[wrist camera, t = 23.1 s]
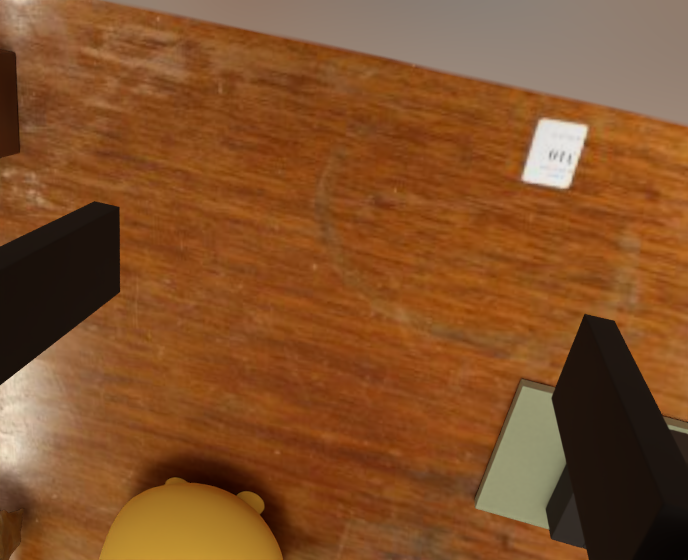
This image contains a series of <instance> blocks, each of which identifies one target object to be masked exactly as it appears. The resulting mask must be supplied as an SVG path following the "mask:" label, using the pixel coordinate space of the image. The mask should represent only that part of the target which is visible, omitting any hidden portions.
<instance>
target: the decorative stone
mask: <svg viewBox="0 0 688 560" xmlns="http://www.w3.org/2000/svg"><path fill="white" fill-rule="evenodd" d="M23 512H24V509H21V510H17V511H14V512H10V513H8V512H7V511H6V510H2V511H0V560H9V558H10V556H11V554H12V553H13V552H14V550H15V549H16V548H17V547H18V546H19V544H20V542H21V536H20V531H21V525H22V515H23Z"/></svg>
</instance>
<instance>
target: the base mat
mask: <svg viewBox="0 0 688 560" xmlns="http://www.w3.org/2000/svg"><path fill="white" fill-rule="evenodd" d="M554 390H555V387H551V386H547V385H543V384H540V383H536V382H532V381H528V380H524V379H521V381H520V384H519V386H518V389H517V392H516V394H515V397H514V399H513V402H512V404H511V407H510V410H509V412H508V415H507V417H506V420H505V422H504V425H503V428H502V430H501V433H500V435H499V438H498V440H497V443H496V446H495V448H494V451H493V453H492V456H491V458H490V461H489V464H488V466H487V469H486V471H485V474H484V476H483V479H482V482H481V484H480V487H479V489H478V492H477V495H476V497H475V508H476V509H480V510H483V511H487V512H490V513H494V514H497V515H501V516H504V517H508V518H511V519H515V520H518V521H522V522H525V523H529V524H532V525H535V526H539V527H542V528H546V529H549V526H548V520H547V515H546V507H547V505H548V502H549V500H550V498H551V496H552V494H553V492H554V489H555V487H556V485H557V483H558V481H559V479H560V476H561V474H562V472H563V470H564V468H565V466H566V459H565V455H564V451H563V446H562V442H561V438H560V433H559V429H558V425H557V421H556V416H555V412H554V408H553V404H552V399H551V398H552V395H553V392H554ZM663 418H664V420H665V422H666V424H667V426H668V428H669V429H671V430H675V431H679V432H683V433H687V434H688V423H687V422H683V421H679V420H675V419H672V418H668V417H664V416H663Z"/></svg>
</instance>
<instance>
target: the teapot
mask: <svg viewBox="0 0 688 560" xmlns="http://www.w3.org/2000/svg"><path fill="white" fill-rule="evenodd" d="M263 510H264V502H263V500H262V499H261V498H260V497H259V496H258V495H257V494H255V493H253V492H249V491H244V492H240V493H239V494H237V496H235V495H234V494H232V493H230V492H227V491H225V490H223V489H220V488H217V487H214V486H210V485H206V484H199V483H188V482H187V481H185V480H183V479H181V478H176V477H174V478H170V479H168V480H167V481H166V483H165V485H162V486H158V487H153V488H151V489H148V490H145V491H144V492H142V493H140V494H138V495H137V496H135V497H133V498H132V499H131V500H130V501H128V502H127V503H126V504H125V506H124V507H123V508H122V509H121V511H120V512H119V514H118V515H117V517H116V518H115V520H114V522H113V524H112V526H111V528H110V530H109V532H108V534H107V537H106V540H105V543H104V545H103V548H102V551H101V555H100V560H283V557H282V553H281V550H280V548H279V545H278V543H277V541H276V539H275V537H274V535H273V533H272V532H271V530H270V528H269V527H268V525H267V524H266V522H265V521H264V520H263V518H262V517H261V516H260V514H261V513H262V511H263Z"/></svg>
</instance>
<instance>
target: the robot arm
mask: <svg viewBox="0 0 688 560" xmlns="http://www.w3.org/2000/svg"><path fill="white" fill-rule="evenodd" d="M119 292H120V218H119V207H117V206H113V205H108V204H104V203H100V202H95V201H94V202H92V203H90V204H88V205H86V206H84V207H82V208H80V209H78V210H76V211H73V212H71V213H69V214H67V215H65V216H63V217H61V218H59V219H57V220H55V221H53V222H51V223H48V224H46V225H44V226H42V227H40V228H38V229H36V230H34V231H32V232H30V233H28V234H25V235H23V236H21V237H19V238H17V239H15V240H13V241H11V242H9V243H7V244H5V245H3V246H0V385H1V384H2V383H4V382H5V381H6V380H8V379H9V378H10V377H11V376H13V375H14V374H15V373H17V372H18V371H19V370H20V369H22V368H23V367H24V366H26V365H27V364H28V363H29V362H31V361H32V360H33V359H34V358H36V357H37V356H38V355H40V354H41V353H42V352H43V351H45V350H46V349H47V348H49V347H50V346H51V345H52V344H54V343H55V342H56V341H58V340H59V339H60V338H61V337H63V336H64V335H65V334H67V333H68V332H69V331H70V330H72V329H73V328H74V327H76V326H77V325H78V324H79V323H81V322H82V321H83V320H85V319H86V318H87V317H88V316H90V315H91V314H92V313H94V312H95V311H96V310H97V309H99V308H100V307H101V306H103V305H104V304H105V303H106V302H108V301H109V300H110V299H112V298H113V297H114V296H115V295H117V294H118V293H119ZM551 399H552V404H553V408H554V412H555V416H556V421H557V425H558V429H559V433H560V438H561V442H562V446H563V451H564V455H565V459H566V463H567V468H568V472H569V476H570V481H571V485H572V489H573V493H574V498H575V502H576V506H577V510H578V515H579V519H580V523H581V528H582V532H583V536H584V540H585V545H586V549H587V553H588V557H589V560H688V434H687V433H683V432H679V431H675V430H671V429H669V428H668V426H667V424H666V422H665V420H664V418H663V416H662V414H661V412H660V410H659V408H658V406H657V404H656V402H655V400H654V398H653V396H652V394H651V392H650V390H649V388H648V386H647V384H646V382H645V380H644V378H643V376H642V374H641V372H640V370H639V368H638V366H637V364H636V362H635V361H634V359H633V357H632V355H631V353H630V351H629V349H628V347H627V345H626V343H625V341H624V339H623V337H622V335H621V333H620V331H619V329H618V327H617V325H616V323H615V321H613V320H609V319H604V318H600V317H596V316H591V315H587V314H584V317H583V319H582V322H581V324H580V327H579V329H578V332H577V335H576V337H575V340H574V342H573V345H572V347H571V350H570V352H569V355H568V357H567V360H566V362H565V365H564V367H563V370H562V372H561V375H560V377H559V380H558V382H557V385H556V387H555V390H554V392H553V395H552V398H551Z"/></svg>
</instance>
